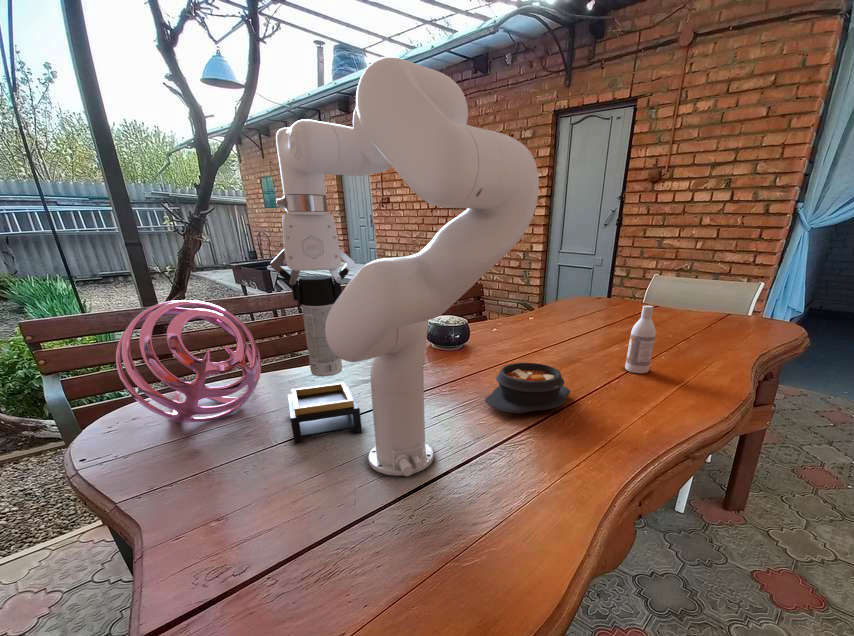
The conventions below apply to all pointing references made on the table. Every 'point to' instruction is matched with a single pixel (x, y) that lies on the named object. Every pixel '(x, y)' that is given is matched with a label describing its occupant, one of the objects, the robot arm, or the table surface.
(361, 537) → the table surface
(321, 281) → the spray can
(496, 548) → the table surface
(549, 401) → the casserole
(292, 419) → the stand
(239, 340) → the pink lattice ball
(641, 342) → the bath foam
